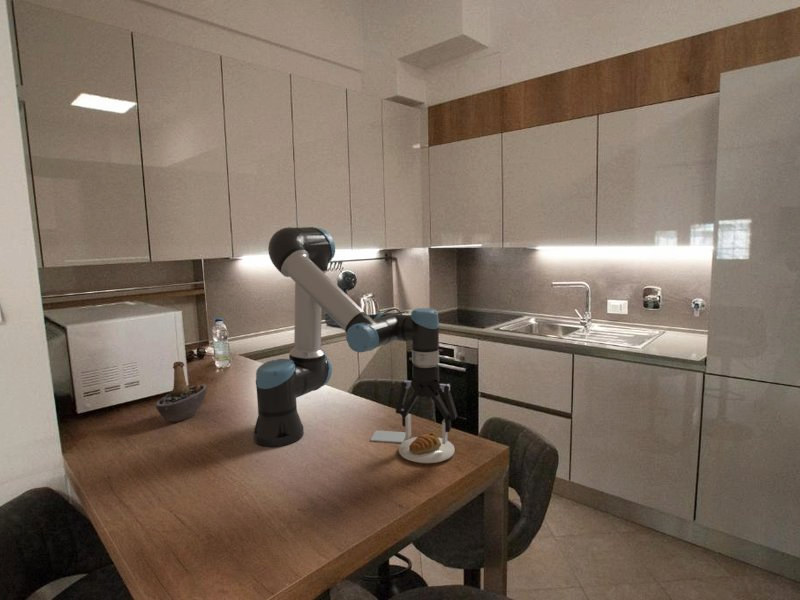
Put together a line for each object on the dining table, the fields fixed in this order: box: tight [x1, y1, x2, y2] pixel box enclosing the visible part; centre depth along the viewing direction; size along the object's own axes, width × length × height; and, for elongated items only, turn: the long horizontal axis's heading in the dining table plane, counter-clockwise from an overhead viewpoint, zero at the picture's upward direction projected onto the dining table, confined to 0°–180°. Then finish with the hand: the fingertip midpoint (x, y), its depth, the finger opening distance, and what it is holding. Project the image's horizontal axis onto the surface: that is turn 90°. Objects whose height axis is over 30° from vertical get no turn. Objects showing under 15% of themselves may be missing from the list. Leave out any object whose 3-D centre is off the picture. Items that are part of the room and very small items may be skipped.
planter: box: [155, 361, 207, 423], centre depth 164 cm, size 15×17×20 cm
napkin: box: [370, 430, 406, 444], centre depth 147 cm, size 10×7×1 cm
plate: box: [398, 436, 455, 464], centre depth 136 cm, size 16×16×1 cm
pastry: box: [409, 431, 441, 454], centre depth 135 cm, size 9×7×4 cm
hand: (426, 439), depth 136 cm, fingers open, 10 cm apart
